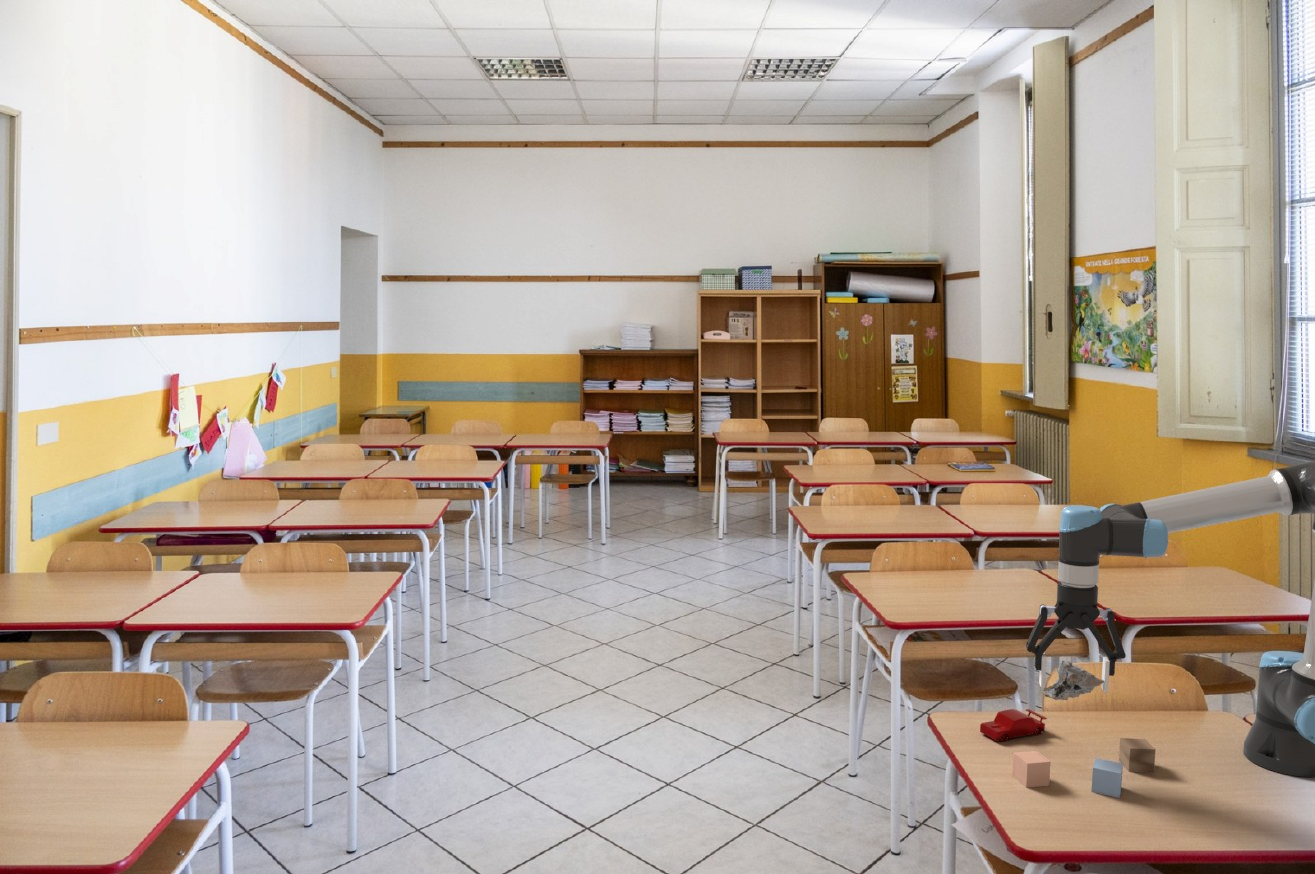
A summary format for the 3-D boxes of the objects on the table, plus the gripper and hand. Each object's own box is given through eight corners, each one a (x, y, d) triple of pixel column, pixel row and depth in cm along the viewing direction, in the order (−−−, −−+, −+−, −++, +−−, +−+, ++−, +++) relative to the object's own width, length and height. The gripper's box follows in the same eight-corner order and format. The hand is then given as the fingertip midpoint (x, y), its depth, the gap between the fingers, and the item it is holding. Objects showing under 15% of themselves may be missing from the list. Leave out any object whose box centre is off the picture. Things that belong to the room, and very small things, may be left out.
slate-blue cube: (1121, 787, 191) (1122, 763, 190) (1119, 798, 186) (1121, 773, 186) (1093, 781, 193) (1095, 757, 193) (1091, 792, 189) (1092, 767, 188)
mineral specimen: (1060, 714, 200) (1084, 719, 190) (1029, 688, 201) (1052, 692, 191) (1087, 678, 202) (1112, 681, 192) (1056, 652, 203) (1080, 654, 193)
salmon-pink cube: (1034, 774, 196) (1036, 750, 195) (1049, 785, 191) (1050, 761, 191) (1012, 776, 195) (1013, 752, 195) (1026, 787, 190) (1027, 763, 190)
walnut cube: (1143, 761, 202) (1145, 738, 202) (1153, 772, 197) (1155, 749, 197) (1118, 760, 203) (1120, 737, 202) (1128, 771, 198) (1130, 748, 197)
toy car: (1028, 726, 220) (1029, 705, 220) (1046, 735, 215) (1047, 714, 215) (979, 735, 215) (980, 713, 215) (996, 745, 210) (997, 723, 209)
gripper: (1137, 581, 196) (1132, 685, 198) (1013, 574, 201) (1009, 676, 204) (1146, 591, 188) (1140, 699, 191) (1017, 584, 194) (1013, 689, 197)
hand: (1073, 687), depth 197 cm, fingers closed on mineral specimen, 11 cm apart
